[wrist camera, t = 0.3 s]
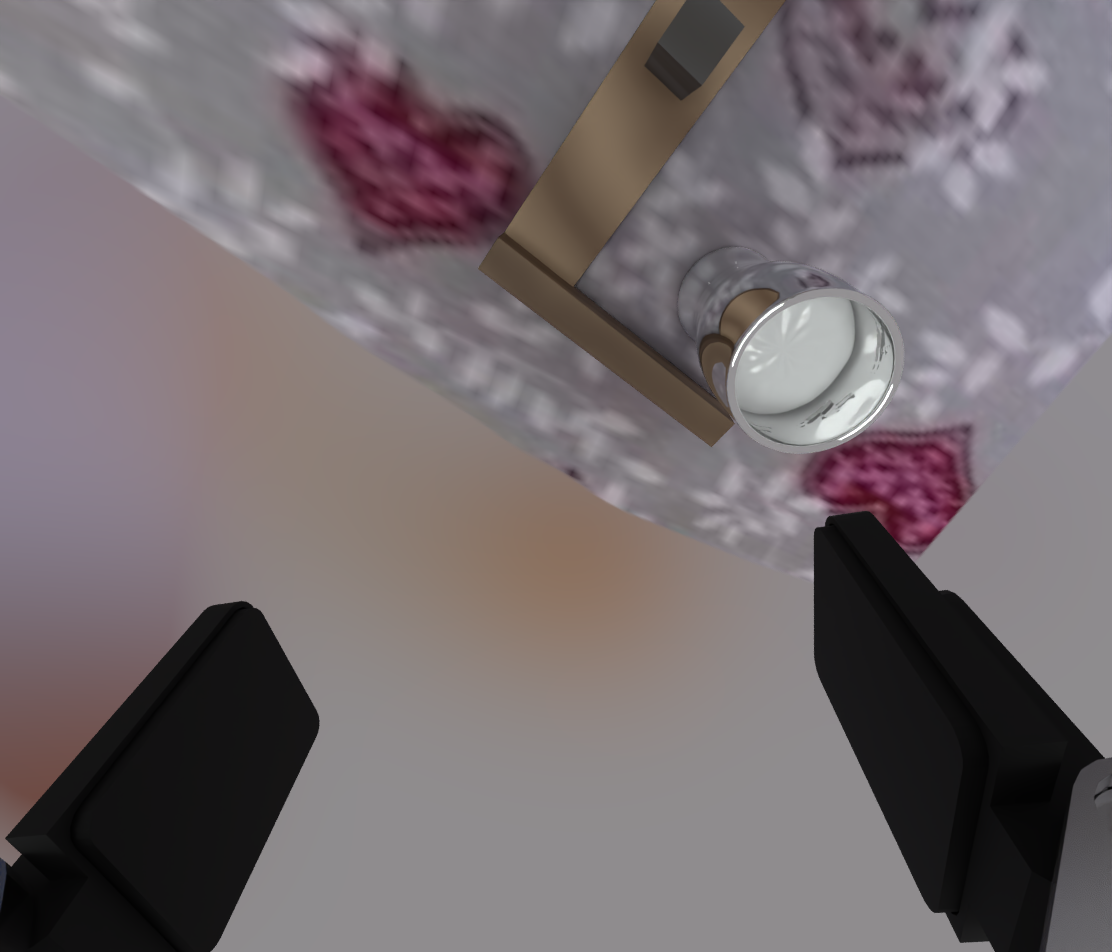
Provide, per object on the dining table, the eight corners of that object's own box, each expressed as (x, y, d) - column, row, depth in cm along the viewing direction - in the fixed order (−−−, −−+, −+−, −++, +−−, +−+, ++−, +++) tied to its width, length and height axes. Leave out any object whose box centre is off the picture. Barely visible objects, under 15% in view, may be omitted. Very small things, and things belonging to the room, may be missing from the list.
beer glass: (810, 280, 34) (953, 348, 21) (734, 375, 37) (818, 487, 24) (718, 213, 33) (809, 242, 20) (647, 318, 36) (684, 403, 23)
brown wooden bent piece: (826, -260, 24) (906, -401, 18) (1065, 44, 29) (1193, 11, 23) (487, 260, 35) (467, 278, 29) (701, 425, 39) (722, 471, 33)
